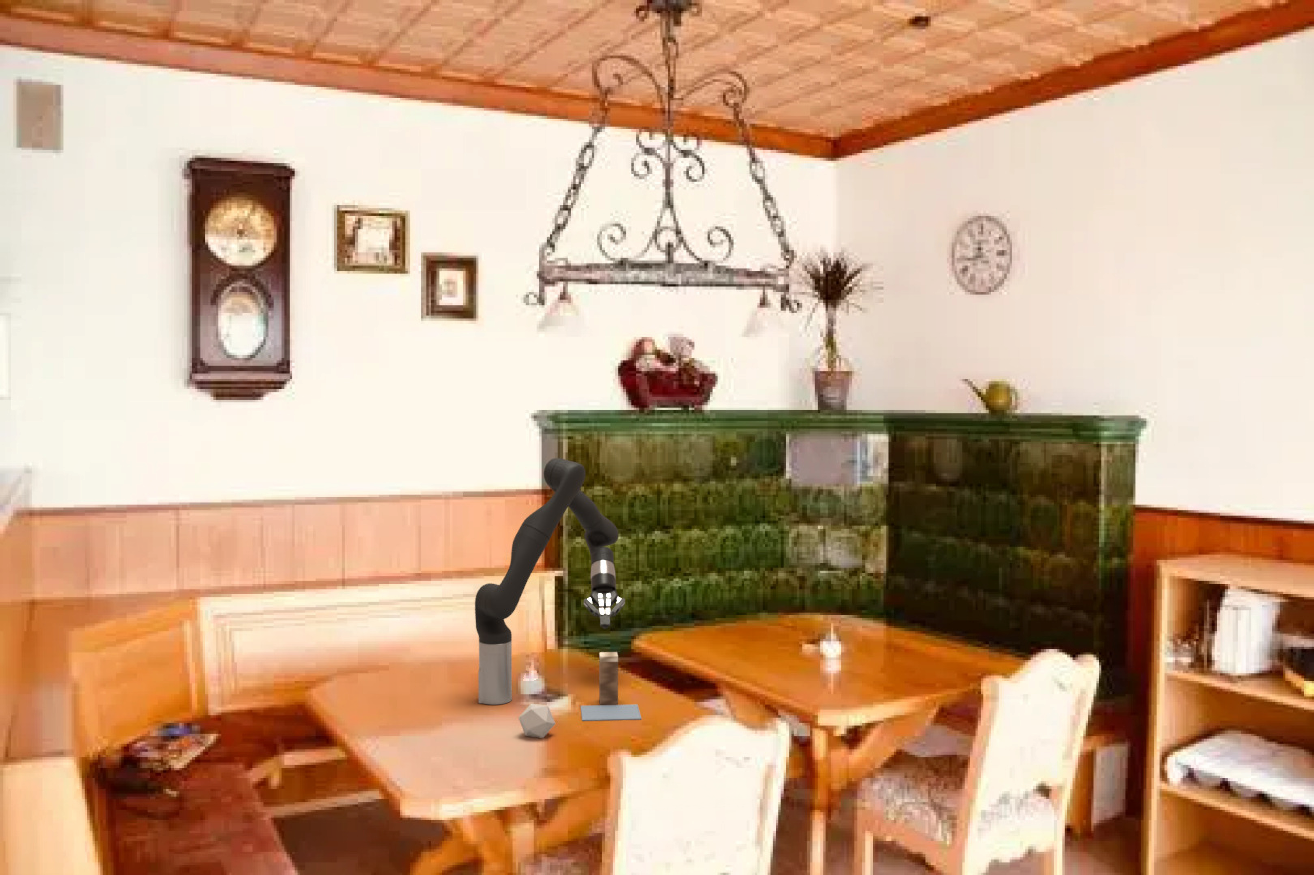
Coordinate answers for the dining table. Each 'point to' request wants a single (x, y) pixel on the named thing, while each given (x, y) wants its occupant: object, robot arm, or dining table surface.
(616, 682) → the block
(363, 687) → the dining table surface
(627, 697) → the dining table surface
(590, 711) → the board
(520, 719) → the die
